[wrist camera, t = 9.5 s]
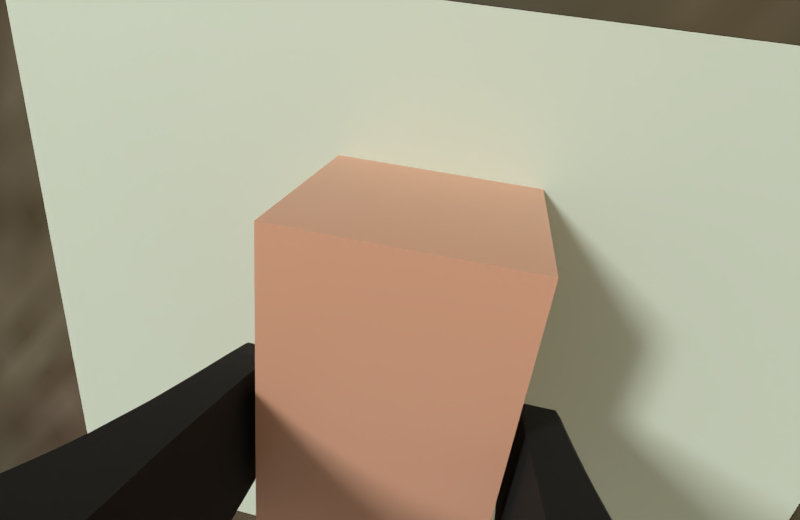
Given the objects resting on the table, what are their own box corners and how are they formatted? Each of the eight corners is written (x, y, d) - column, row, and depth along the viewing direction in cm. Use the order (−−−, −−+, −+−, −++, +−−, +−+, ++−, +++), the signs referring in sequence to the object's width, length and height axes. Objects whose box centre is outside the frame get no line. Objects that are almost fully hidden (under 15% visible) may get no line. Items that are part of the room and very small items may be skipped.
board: (701, 598, 15) (713, 636, 14) (117, 448, 17) (94, 472, 16) (1013, 74, 9) (1072, 81, 8) (37, -52, 11) (-5, -58, 10)
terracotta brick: (469, 489, 13) (454, 649, 10) (319, 452, 14) (256, 593, 10) (543, 189, 10) (558, 278, 6) (338, 154, 10) (253, 220, 7)
